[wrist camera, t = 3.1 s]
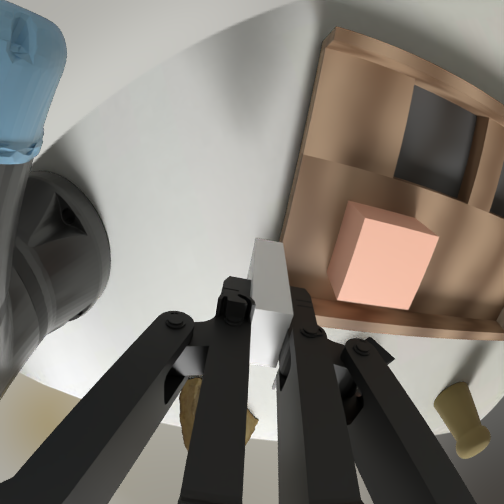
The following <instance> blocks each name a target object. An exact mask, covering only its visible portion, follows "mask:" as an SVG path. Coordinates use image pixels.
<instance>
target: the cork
mask: <svg viewBox="0 0 504 504" xmlns="http://www.w3.org/2000/svg"><path fill="white" fill-rule="evenodd" d="M434 407H435V409H436V410H437V412H438V413H439V415H440V416H441V418H442V419H443V421H444V423H445V424H446V426H447V427H448V429H449V430H450V432H451V433H452V435H453V436H454V438H455V440H456V441H457V443H456V451H457V454H458V455H459V456H460V457H461V458H463V459H466V458H471V457H473V456H475V455H476V454H478V453H480V452H481V451H482V450H483V449H484V448H486V446H487V445H488V444H489V442H490V437H491V436H490V432H489V430H488V429H487V428H486V427H485V426H482V425H481V422H480V419H479V416H478V413H477V410H476V407H475V404H474V401H473V398H472V395H471V393H470V390H469V387H468V385H467V383H465V382H458V383H455V384H453V385H451V386H449V387H448V388H446V389H445V390H444V391H442V392H441V393H440V394H439V395H438V396H437V398H436V399H435V401H434Z"/></svg>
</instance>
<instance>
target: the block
mask: <svg viewBox="0 0 504 504" xmlns="http://www.w3.org/2000/svg"><path fill="white" fill-rule="evenodd" d="M438 239H439V236H437V235H436V234H435V233H434V232H432V231H431V230H430V229H429V228H427V227H426V226H425V225H424V224H422V223H421V222H420V221H418V220H417V219H416V218H413V217H410V216H406V215H403V214H399V213H395V212H392V211H388V210H384V209H380V208H376V207H372V206H369V205H365V204H361V203H357V202H352V201H348V203H347V206H346V210H345V213H344V217H343V220H342V224H341V227H340V231H339V234H338V237H337V241H336V244H335V247H334V250H333V254H332V257H331V260H330V263H329V266H328V269H327V275H328V278H329V280H330V283H331V285H332V288H333V291H334V293H335V296H336V299H337V300H340V301H347V302H354V303H361V304H368V305H375V306H382V307H390V308H397V309H405V310H408V309H409V307H410V305H411V303H412V301H413V299H414V297H415V294H416V292H417V290H418V288H419V286H420V283H421V281H422V279H423V276H424V274H425V272H426V269H427V267H428V265H429V262H430V260H431V257H432V255H433V252H434V249H435V247H436V244H437V242H438Z"/></svg>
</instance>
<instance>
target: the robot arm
mask: <svg viewBox="0 0 504 504" xmlns="http://www.w3.org/2000/svg"><path fill="white" fill-rule="evenodd" d="M66 58H67V48H66V43H65V39H64V37H63V34H62V32H61V31H60V29H59V28H58V27H57V26H56V25H55V24H54V23H53V22H51V21H49V20H48V19H46V18H44V17H42V16H40V15H38V14H36V13H33V12H31V11H29V10H27V9H24V8H22V7H20V6H17V5H15V4H13V3H10V2H8V1H5V0H0V400H1V398H2V397H3V395H4V394H5V392H6V391H7V389H8V387H9V386H10V385H11V383H12V381H13V380H14V379H15V377H16V376H17V374H18V373H19V371H20V370H21V369H22V367H23V366H24V364H25V363H26V361H27V360H28V359H29V357H30V356H31V354H32V353H33V352H34V350H35V349H36V348H37V346H38V345H39V344H40V342H41V341H42V340H43V338H44V337H45V336H46V335H47V334H49V333H51V332H53V331H55V330H56V329H58V328H60V327H62V326H63V325H64V324H66V323H67V322H68V321H72V320H75V319H77V318H79V317H81V316H82V315H84V314H85V313H86V312H87V311H89V310H90V309H91V307H92V306H93V305H94V304H95V302H96V301H97V300H98V298H99V297H100V296H101V294H102V293H103V291H104V289H105V287H106V285H107V282H108V279H109V274H110V262H111V260H110V249H109V243H108V239H107V236H106V232H105V230H104V227H103V224H102V222H101V220H100V218H99V216H98V214H97V212H96V210H95V209H94V207H93V206H92V204H91V203H90V201H89V200H88V199H87V197H86V196H85V195H84V194H83V193H82V192H81V191H80V190H79V189H78V188H77V187H76V186H75V185H74V184H72V183H71V182H70V181H68V180H67V179H65V178H63V177H62V176H60V175H57V174H55V173H51V172H47V171H33V172H30V169H31V165H32V162H33V159H34V157H35V156H37V155H38V153H39V152H40V149H41V146H42V143H43V141H42V138H43V135H44V128H43V126H44V123H45V120H46V117H47V113H48V111H49V107H50V105H51V102H52V99H53V96H54V94H55V91H56V88H57V86H58V83H59V81H60V78H61V76H62V73H63V70H64V67H65V63H66ZM278 360H279V369H278V372H277V375H276V378H275V380H274V383H273V386H272V389H275V387H276V388H277V425H278V472H279V473H278V477H279V504H364V503H363V502H362V500H361V497H360V492H359V486H358V480H357V474H356V469H355V464H356V466H357V468H358V471H359V473H360V475H361V477H362V479H363V481H364V483H365V485H366V488H367V490H368V492H369V494H370V496H371V498H372V501H373V503H374V504H476V502H475V500H474V499H473V497H472V495H471V494H470V492H469V490H468V489H467V487H466V485H465V484H464V482H463V480H462V478H461V477H460V475H459V474H458V472H457V470H456V469H455V467H454V465H453V464H452V462H451V461H450V459H449V457H448V456H447V454H446V453H445V451H444V449H443V448H442V446H441V445H440V443H439V442H438V440H437V438H436V437H435V435H434V434H433V432H432V431H431V429H430V428H429V426H428V425H427V423H426V421H425V420H424V418H423V417H422V415H421V414H420V412H419V411H418V409H417V408H416V406H415V405H414V403H413V402H412V400H411V399H410V397H409V396H408V394H407V393H406V391H405V390H404V389H403V387H402V386H401V384H400V383H399V381H398V380H397V378H396V377H395V375H394V374H393V373H392V371H391V370H390V368H389V367H388V365H387V364H386V362H385V361H384V360H383V358H382V357H381V355H380V354H379V352H378V351H377V350H376V348H375V347H374V346H373V345H372V344H371V343H369V342H367V341H366V340H363V339H358V338H353V339H349V340H348V341H347V342H346V344H345V345H342V344H339V343H336V342H333V341H331V340H329V339H327V335H326V333H325V331H324V329H322V328H321V327H320V326H319V325H317V321H316V316H315V312H314V309H313V304H312V299H311V295H310V294H309V293H308V292H307V290H306V289H305V288H299V287H293V286H289V280H288V273H287V266H286V259H285V253H284V246H283V243H281V242H276V241H270V240H265V239H260V238H255V243H254V248H253V253H252V258H251V263H250V267H249V272H248V277H247V279H242V278H237V277H231V276H229V277H228V278H227V279H226V280H225V281H224V283H223V288H222V292H221V295H220V296H219V298H218V303H217V309H216V316H215V317H214V318H212V319H211V320H208V321H205V322H194V321H193V319H192V318H191V317H190V316H189V315H187V314H185V313H183V312H179V311H168V312H164V313H162V314H161V315H159V316H158V317H157V318H156V319H155V320H154V322H153V323H152V324H151V325H150V326H149V327H148V328H147V329H146V330H145V331H144V332H143V333H142V334H141V335H140V336H139V337H138V339H137V340H136V341H135V342H134V343H133V344H132V345H131V346H130V347H129V348H128V349H127V350H126V351H125V352H124V354H123V355H122V356H121V357H120V358H119V359H118V360H117V361H116V362H115V363H114V364H113V365H112V367H111V368H110V369H109V370H108V371H107V372H106V373H105V374H104V375H103V376H102V377H101V378H100V380H99V381H98V382H97V383H96V384H95V385H94V386H93V387H92V388H91V389H90V391H89V392H88V393H87V394H86V395H85V396H84V397H83V398H82V399H81V400H80V402H79V403H78V404H77V405H76V406H75V407H74V408H73V409H72V411H71V412H70V413H69V414H68V415H67V416H66V417H65V418H64V419H63V421H62V422H61V423H60V424H59V425H58V426H57V427H56V428H55V430H54V431H53V432H52V433H51V434H50V435H49V436H48V438H47V439H46V440H45V441H44V442H43V443H42V444H41V445H40V447H39V448H38V449H37V450H36V451H35V452H34V454H33V455H32V456H31V457H30V458H29V459H28V460H27V462H26V463H25V464H24V465H23V466H22V467H21V469H20V470H19V471H18V472H17V473H16V474H15V476H14V477H12V478H10V479H8V480H6V481H4V482H2V483H0V504H108V502H109V501H110V499H111V498H112V496H113V495H114V493H115V492H116V490H117V489H118V487H119V486H120V484H121V483H122V481H123V480H124V478H125V477H126V475H127V473H128V472H129V470H130V469H131V467H132V466H133V464H134V463H135V461H136V460H137V458H138V457H139V455H140V454H141V452H142V450H143V449H144V447H145V446H146V444H147V443H148V441H149V440H150V438H151V436H152V435H153V433H154V432H155V430H156V429H157V427H158V425H159V424H160V422H161V421H162V419H163V418H164V416H165V415H166V413H167V411H168V410H169V408H170V407H171V405H172V404H173V402H174V400H175V399H176V397H177V396H178V394H179V393H180V391H181V389H182V388H183V386H184V385H185V383H186V382H187V380H188V378H189V375H203V378H202V383H201V388H200V393H199V398H198V403H197V408H196V413H195V418H194V424H193V429H192V434H191V439H190V444H189V450H188V456H187V460H186V466H185V471H184V477H183V483H182V488H181V493H180V497H179V500H178V504H242V493H243V475H244V474H243V473H244V456H245V438H246V419H247V400H248V381H249V364H253V365H260V366H267V367H274V368H276V366H277V363H278ZM358 388H359V390H360V392H361V393H362V395H360V393H359V392H358ZM354 462H355V463H354Z"/></svg>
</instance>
